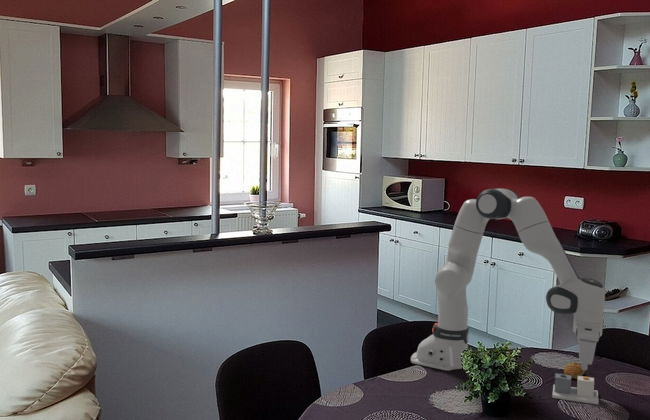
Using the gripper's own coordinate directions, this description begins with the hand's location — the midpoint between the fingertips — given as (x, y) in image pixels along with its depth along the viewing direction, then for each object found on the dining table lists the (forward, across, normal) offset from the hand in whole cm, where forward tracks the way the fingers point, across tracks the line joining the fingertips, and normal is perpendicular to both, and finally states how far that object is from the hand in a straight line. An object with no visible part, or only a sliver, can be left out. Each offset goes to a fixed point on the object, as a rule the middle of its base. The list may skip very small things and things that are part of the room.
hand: (584, 368), depth 204 cm
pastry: (+10, -21, -3) cm, 24 cm away
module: (+9, 0, +1) cm, 9 cm away
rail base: (+10, 0, -2) cm, 10 cm away
